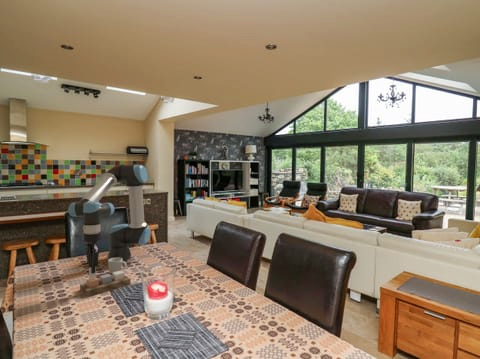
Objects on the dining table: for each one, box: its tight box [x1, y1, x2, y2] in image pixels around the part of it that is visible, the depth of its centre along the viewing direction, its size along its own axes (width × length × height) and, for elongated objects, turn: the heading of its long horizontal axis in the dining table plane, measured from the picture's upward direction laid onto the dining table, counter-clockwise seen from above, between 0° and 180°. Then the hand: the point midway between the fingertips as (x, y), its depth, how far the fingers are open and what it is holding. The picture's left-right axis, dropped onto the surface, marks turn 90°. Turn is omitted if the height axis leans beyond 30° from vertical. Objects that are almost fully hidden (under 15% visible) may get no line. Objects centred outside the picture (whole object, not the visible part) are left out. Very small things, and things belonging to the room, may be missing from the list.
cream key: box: [111, 270, 125, 281], centre depth 154 cm, size 4×4×4 cm
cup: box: [107, 257, 127, 275], centre depth 169 cm, size 11×8×8 cm
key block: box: [79, 274, 132, 298], centre depth 149 cm, size 21×11×3 cm, turn 136°
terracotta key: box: [85, 277, 100, 288], centre depth 144 cm, size 4×4×4 cm
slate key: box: [99, 273, 112, 285], centre depth 149 cm, size 4×4×4 cm
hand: (92, 278), depth 144 cm, fingers closed
